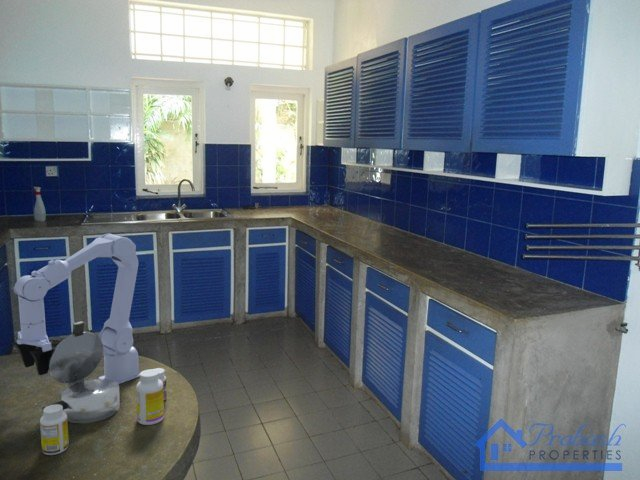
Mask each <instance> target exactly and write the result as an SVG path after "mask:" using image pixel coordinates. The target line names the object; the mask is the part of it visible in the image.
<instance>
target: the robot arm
mask: <svg viewBox="0 0 640 480" xmlns="http://www.w3.org/2000/svg"><path fill="white" fill-rule="evenodd" d="M136 249H137V245H136V244H135V243H134V242H133V240H131V239H130V238H129V237H126V236H119V235H115V234H114V233H105V234H103V235H101V236H100V237H96V238H95V239H94V240H93V241H92V242H90V243H88V245H85V246H84V247H83V248H82V249H80V250H78V251H77V252H75V253H73V254H72V255H70V256H69V257H68V258H66V259H65V260H61V259H55V260H53V259H51V260H49V261H47V265H45V266H43V267H42V268H39V269H37V270H33V271H32V272H31V275H29V274H28V275H23V276H21V277H20V278H18V279H17V281H16V282H15V283H14V287H13V291H14V294H16V295H17V296H18V311H19V324H20V330H19V331H17V340H16V342H14V343H13V346H15V348H16V350H17V351H18V353H19V354H20V357H21V360H22V363H23V365H24V368H29V367H33V366H34V365H35V367H36V372H37V374H38V376H43V375H46V374H48V372H49V367H48V364H49V359H50V356H51V354H52V352H53V350H54V349H55V347H56V346H52V342H50V341H49V340H50V339H49V337H48V335H47V330H46V329H47V328H46V326H47V325H46V315H45V314H46V313H45V301H44V298H45V296H46V295H47V293H48V291H49V290H51V289H52V288H54V287H56V286H57V285H60V284H61V283H62V282H65V280H67V279H69V278H70V276H71V275H72V271H73V270H76V269H78V268H80V267H81V266H83V265H85V264H87V263H89V262H91V261H92V260H94V259H97V258H110V259H111V260H112V261H113V262H114V263H115V265H117V267H118V268H117V272H116V273H117V274H116V279H115V285H114V292H113V296H112V297H113V298H112V303H111V308H110V315H109V318H108V319H107V320H106V321H105V322H104V324H103V327H102V329H101V331H100V333H99V335H98V337H99V338H100V340H101V342H102V344H103V369H104V371H103V372H104V375H101V376H99V377H98V379H107V380H112V381H114V382H116V383H118V385H120V384H123V383H126V382H128V381H131V380H134V379H136V378H140V365H139V364H140V362H139V359H140V358H139V353H138V350H137V349H136V347H135V346H133V345H134V342H135V341H134V336H133V332H134V331H133V327H132V324H131V322H130V316H131V309H132V305H133V298H134V293H135V288H136V282H137V275H138V268H139V258H138V256H137V252H136Z"/></svg>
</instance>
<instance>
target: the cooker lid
mask: <svg viewBox="0 0 640 480" xmlns="http://www.w3.org/2000/svg"><path fill="white" fill-rule="evenodd" d="M84 328H85V322H84V321H82V320H81V321H78V322H77V321H76V322H73V324H72V334H70V335H68V336H66V337H65V338H63V339H62V340H61V341H60V342H59V343H58V344H56V346H54V347H55V349H54V350H53V352H52V354H51V356H50V359H49V364H48V367H49V370H48V372H49V374H50V376H51V377H52V378H53V379H54V380H55V381H57V382H58V383H61V384H67V387H69V386H71V385H73V384H76V383H79V382H82V381H85V379H86V378H87V377H88V376H90V375H91V374H92V373H93V372H94V371H95V370H96V368H97V367H98V366H99V364H100V363H101V360H102V357H103V355H104V349H103V344H102V342H101V340H100V338H99V335H98V336H97V335H96V334H95V333H93V332H91V331H85V329H84Z"/></svg>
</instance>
